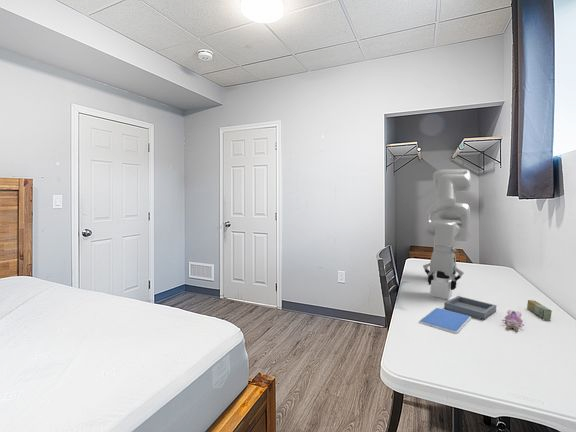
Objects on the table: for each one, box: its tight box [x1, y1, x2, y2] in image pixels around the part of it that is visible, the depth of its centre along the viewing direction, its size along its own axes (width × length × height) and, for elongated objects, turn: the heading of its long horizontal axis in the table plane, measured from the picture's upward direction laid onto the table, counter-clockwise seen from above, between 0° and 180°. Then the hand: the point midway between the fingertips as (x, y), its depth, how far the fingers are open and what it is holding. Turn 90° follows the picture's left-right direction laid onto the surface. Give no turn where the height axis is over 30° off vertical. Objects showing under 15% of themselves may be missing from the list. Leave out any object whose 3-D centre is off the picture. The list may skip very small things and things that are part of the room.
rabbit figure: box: [501, 309, 525, 332], centre depth 106 cm, size 6×6×15 cm
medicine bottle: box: [430, 271, 453, 300], centre depth 136 cm, size 7×7×12 cm
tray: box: [443, 295, 498, 321], centre depth 119 cm, size 14×14×2 cm
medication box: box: [526, 299, 553, 321], centre depth 117 cm, size 12×3×4 cm, turn 165°
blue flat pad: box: [418, 307, 472, 335], centre depth 109 cm, size 19×13×1 cm, turn 136°
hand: (441, 286), depth 136 cm, fingers open, 9 cm apart
